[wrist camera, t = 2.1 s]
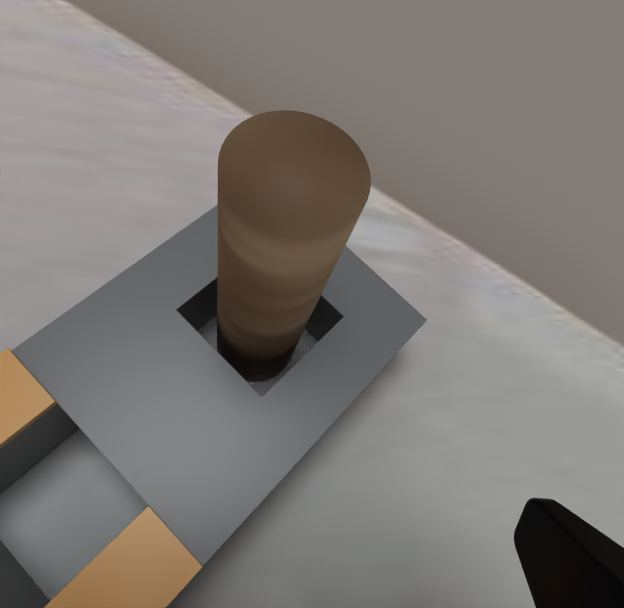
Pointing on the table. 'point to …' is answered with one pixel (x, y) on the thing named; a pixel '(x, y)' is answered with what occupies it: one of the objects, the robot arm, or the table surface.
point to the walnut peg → (280, 231)
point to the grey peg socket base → (181, 410)
